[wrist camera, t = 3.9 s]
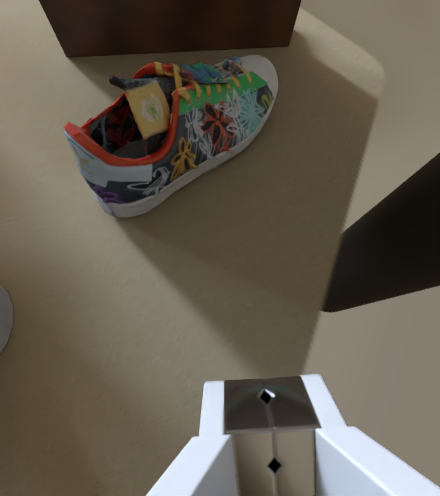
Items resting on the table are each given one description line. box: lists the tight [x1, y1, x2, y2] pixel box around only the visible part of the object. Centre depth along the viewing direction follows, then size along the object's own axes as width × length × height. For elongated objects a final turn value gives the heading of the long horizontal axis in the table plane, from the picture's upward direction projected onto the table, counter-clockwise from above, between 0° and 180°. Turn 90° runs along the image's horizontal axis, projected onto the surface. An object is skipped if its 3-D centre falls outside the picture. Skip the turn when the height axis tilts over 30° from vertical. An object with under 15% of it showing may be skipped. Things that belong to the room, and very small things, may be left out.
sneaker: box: [64, 55, 278, 217], centre depth 23 cm, size 8×21×10 cm, turn 136°
